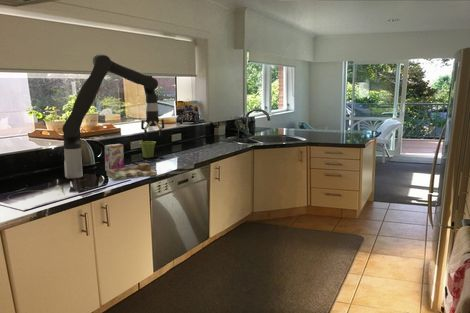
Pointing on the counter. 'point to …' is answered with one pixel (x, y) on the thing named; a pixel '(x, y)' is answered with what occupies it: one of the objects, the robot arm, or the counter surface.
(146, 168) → the walnut block
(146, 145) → the plant pot
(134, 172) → the box
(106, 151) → the candy bar box
